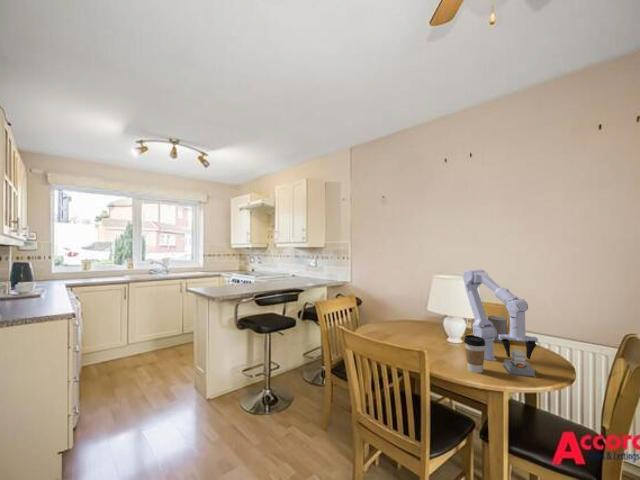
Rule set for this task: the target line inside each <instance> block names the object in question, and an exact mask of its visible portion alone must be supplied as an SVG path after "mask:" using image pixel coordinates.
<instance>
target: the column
mask: <svg viewBox="0 0 640 480" xmlns="http://www.w3.org/2000/svg"><path fill="white" fill-rule="evenodd" d="M510 351H511V352H510V355H511V356H510V358H511V360H512V361H511V362H512V364H513V365H514V366H518V365H524V367H526V365H525V362H526V358H527V356H526V353H525V352H524V351H523V350H522V349H512V348H510Z"/></svg>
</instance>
